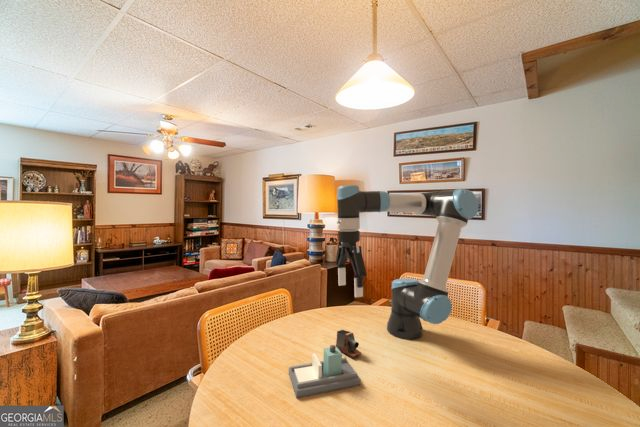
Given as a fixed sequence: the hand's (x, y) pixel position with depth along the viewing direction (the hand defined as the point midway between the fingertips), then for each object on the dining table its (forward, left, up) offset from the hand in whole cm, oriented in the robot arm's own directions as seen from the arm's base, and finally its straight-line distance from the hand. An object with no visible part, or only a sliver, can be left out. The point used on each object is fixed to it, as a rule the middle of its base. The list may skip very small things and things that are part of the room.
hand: (349, 290), depth 95 cm
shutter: (+17, +6, -23) cm, 29 cm away
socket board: (+12, +6, -26) cm, 29 cm away
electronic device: (-2, -6, -26) cm, 27 cm away
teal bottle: (+9, +6, -25) cm, 27 cm away
